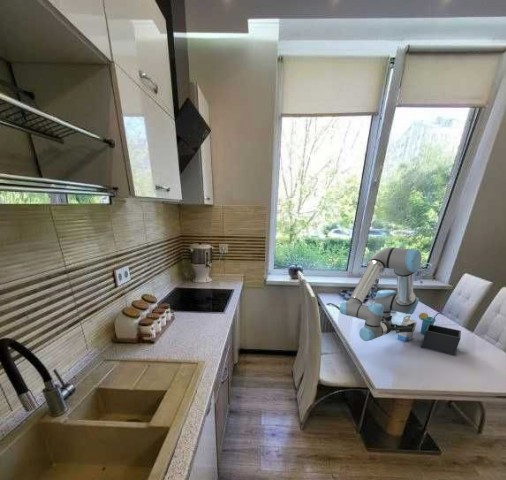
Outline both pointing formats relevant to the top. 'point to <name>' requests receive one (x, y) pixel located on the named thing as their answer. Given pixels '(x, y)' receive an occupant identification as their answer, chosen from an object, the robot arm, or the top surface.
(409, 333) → the ink box
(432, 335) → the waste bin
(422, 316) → the cup
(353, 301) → the robot arm
